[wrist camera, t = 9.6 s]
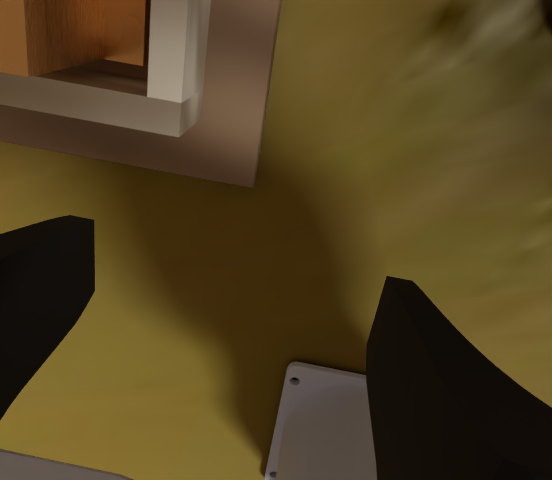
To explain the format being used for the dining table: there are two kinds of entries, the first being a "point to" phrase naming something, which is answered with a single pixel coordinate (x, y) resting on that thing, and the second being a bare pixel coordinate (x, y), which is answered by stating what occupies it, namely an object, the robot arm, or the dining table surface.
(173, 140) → the well block
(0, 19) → the wooden stepped block
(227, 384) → the dining table surface
